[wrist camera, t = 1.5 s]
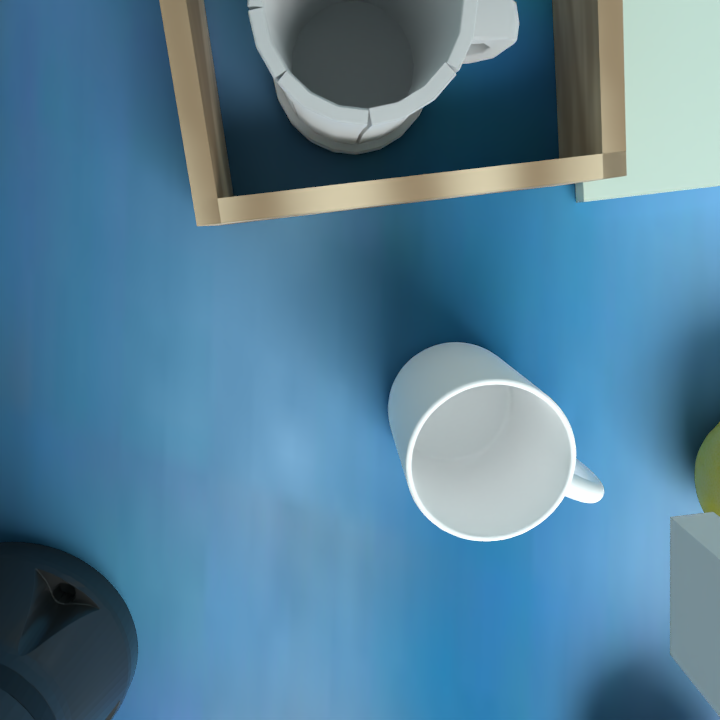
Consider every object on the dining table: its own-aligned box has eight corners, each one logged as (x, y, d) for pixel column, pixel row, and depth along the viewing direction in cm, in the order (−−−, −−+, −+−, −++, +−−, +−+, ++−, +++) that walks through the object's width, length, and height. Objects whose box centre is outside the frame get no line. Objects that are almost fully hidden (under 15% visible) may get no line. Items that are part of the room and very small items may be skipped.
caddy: (217, 225, 37) (197, 226, 31) (172, -56, 34) (140, -113, 28) (580, 182, 38) (626, 175, 32) (569, -98, 35) (619, -163, 29)
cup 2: (419, 318, 39) (450, 351, 29) (589, 392, 41) (673, 446, 31) (365, 437, 41) (377, 506, 31) (531, 503, 42) (593, 590, 32)
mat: (576, 202, 38) (583, 201, 37) (568, 1, 36) (576, -6, 35) (755, 181, 38) (769, 179, 37) (759, -20, 36) (774, -28, 35)
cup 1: (387, -70, 34) (417, -220, 23) (486, 71, 36) (562, 0, 25) (240, 60, 35) (197, -20, 24) (343, 191, 37) (351, 177, 26)
